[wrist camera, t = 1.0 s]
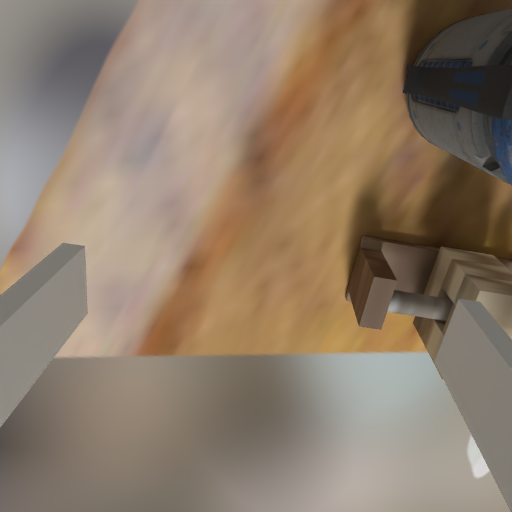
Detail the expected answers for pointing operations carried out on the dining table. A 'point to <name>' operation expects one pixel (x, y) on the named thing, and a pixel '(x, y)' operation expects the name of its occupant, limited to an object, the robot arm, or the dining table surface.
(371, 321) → the pipe stand
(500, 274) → the sleeve
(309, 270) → the dining table surface
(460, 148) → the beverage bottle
